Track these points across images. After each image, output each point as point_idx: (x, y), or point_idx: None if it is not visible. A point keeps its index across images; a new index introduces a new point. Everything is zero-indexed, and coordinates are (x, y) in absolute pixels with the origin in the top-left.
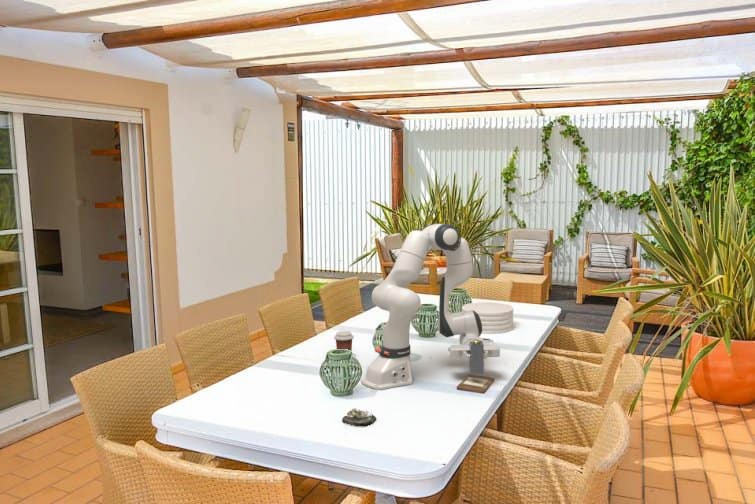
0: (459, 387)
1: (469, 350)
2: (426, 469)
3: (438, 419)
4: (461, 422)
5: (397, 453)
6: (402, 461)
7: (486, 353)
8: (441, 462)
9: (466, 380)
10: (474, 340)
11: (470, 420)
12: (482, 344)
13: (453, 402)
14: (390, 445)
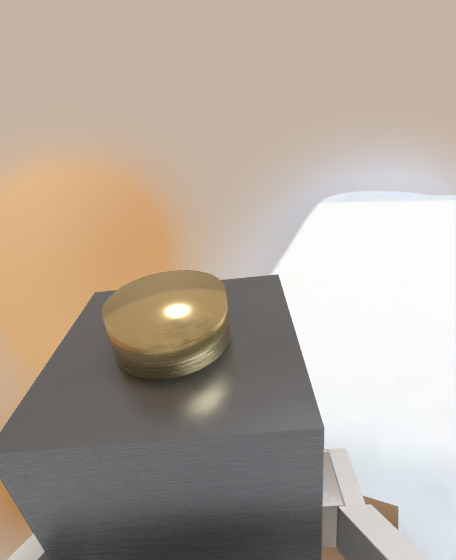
0: (374, 500)
1: (318, 552)
2: (339, 195)
3: (372, 271)
4: (306, 269)
5: (399, 203)
6: (380, 197)
7: (34, 536)
8: (322, 203)
9: None
10: (200, 299)
11: (284, 277)
12: (104, 298)
13: (360, 357)
14: (425, 210)
